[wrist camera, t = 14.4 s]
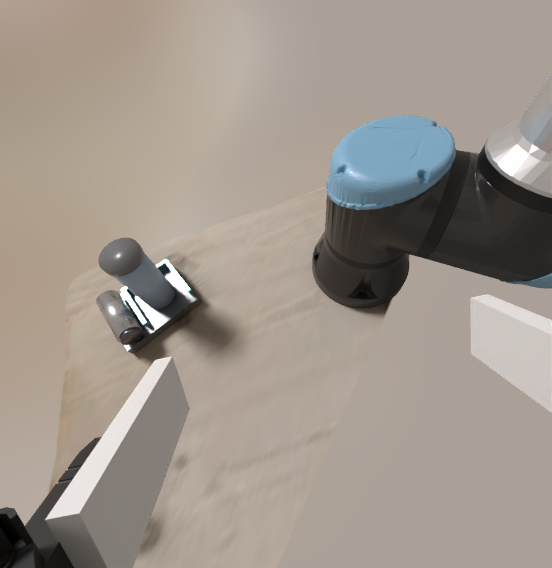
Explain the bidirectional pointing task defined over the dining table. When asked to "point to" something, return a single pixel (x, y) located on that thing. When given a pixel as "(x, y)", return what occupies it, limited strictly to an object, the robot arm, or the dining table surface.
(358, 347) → the dining table surface
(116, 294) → the motor mount
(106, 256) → the ball
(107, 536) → the robot arm
